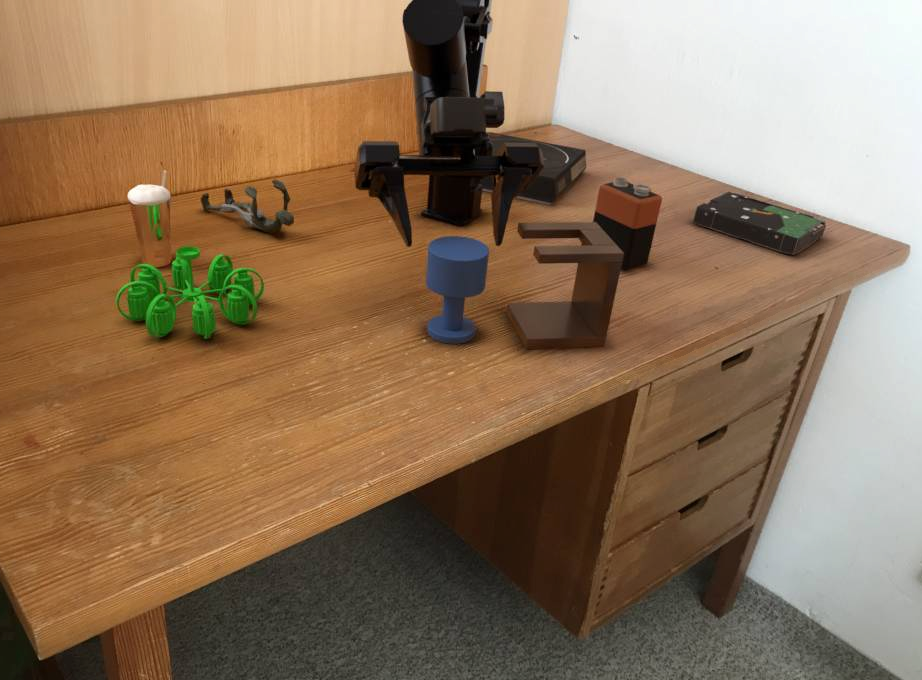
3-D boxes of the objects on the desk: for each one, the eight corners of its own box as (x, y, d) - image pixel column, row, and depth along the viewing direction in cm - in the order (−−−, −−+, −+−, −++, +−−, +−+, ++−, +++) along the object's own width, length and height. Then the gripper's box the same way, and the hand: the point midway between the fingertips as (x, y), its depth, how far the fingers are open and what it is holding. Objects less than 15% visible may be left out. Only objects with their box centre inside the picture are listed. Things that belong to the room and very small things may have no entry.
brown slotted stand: (525, 349, 84) (540, 254, 78) (506, 312, 90) (517, 222, 85) (604, 346, 85) (624, 253, 80) (579, 310, 92) (596, 221, 86)
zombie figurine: (229, 155, 109) (304, 187, 101) (231, 204, 113) (303, 239, 105) (195, 162, 106) (269, 196, 98) (198, 212, 109) (270, 249, 101)
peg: (411, 335, 85) (417, 250, 80) (439, 313, 89) (446, 231, 84) (462, 352, 83) (471, 266, 77) (489, 329, 87) (499, 245, 82)
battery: (624, 272, 101) (641, 194, 96) (585, 252, 106) (599, 176, 100) (648, 265, 103) (666, 188, 98) (609, 246, 108) (624, 171, 103)
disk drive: (691, 225, 116) (794, 257, 108) (695, 206, 115) (800, 237, 107) (723, 208, 123) (822, 237, 115) (727, 190, 122) (829, 218, 113)
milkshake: (190, 256, 98) (181, 174, 92) (160, 273, 94) (149, 188, 88) (159, 248, 99) (149, 167, 94) (128, 264, 95) (116, 180, 90)
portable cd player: (554, 206, 119) (558, 179, 117) (447, 183, 125) (449, 157, 123) (585, 175, 132) (589, 150, 130) (486, 155, 138) (488, 131, 136)
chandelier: (110, 291, 89) (100, 231, 85) (246, 273, 95) (243, 216, 91) (130, 358, 78) (120, 293, 74) (284, 334, 84) (282, 272, 80)
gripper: (360, 54, 76) (370, 211, 73) (552, 60, 79) (570, 211, 76) (350, 118, 87) (359, 257, 84) (520, 120, 90) (535, 255, 87)
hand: (454, 245), depth 82 cm, fingers open, 9 cm apart
